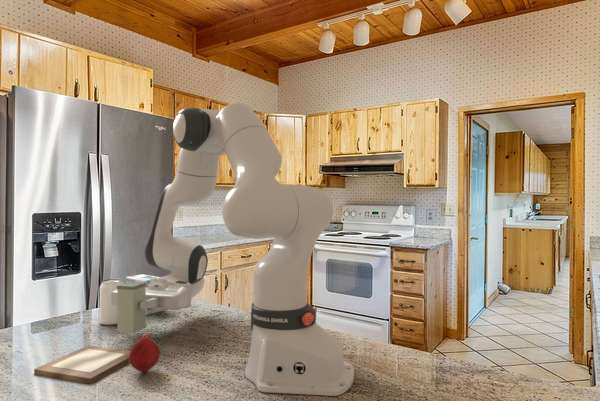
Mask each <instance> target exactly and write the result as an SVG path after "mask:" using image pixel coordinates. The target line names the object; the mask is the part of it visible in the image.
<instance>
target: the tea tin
mask: <svg viewBox="0 0 600 401" xmlns="http://www.w3.org/2000/svg"><path fill="white" fill-rule="evenodd" d="M123 283H124V282H123ZM145 286H146V283H141V282H128V283H126V282H125V283H124V284H121V285H117V324H116V326H117V329H116V330H117V332H121V333H132V334H134V333H136V332H138V331H141V330H143V329H145V328H146V320H147V319H146V316H147V315H146V309H144V310H142V309H137V303H138V302H140V301H145V300H146V296H145Z"/></svg>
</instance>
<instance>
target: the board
mask: <svg viewBox="0 0 600 401" xmlns="http://www.w3.org/2000/svg"><path fill="white" fill-rule="evenodd" d="M129 354H130V350H125V349H118V348H111V347H103V346H96V345H89V344H88V345H86V346H83V347H82V348H79V349H76V350H75V351H72V352H70V353H68V354H66V355H63V356H61V357H58V358H57V359H54V360H52V361H50V362H48V363H45V364H42V365H40V366H39V367H35V368H34V369H33V371H34V372H33V374H34V375H38V376H42V375H43V376H44V377H48V376H49V377H50V378H54V379H55V378H56V379H60V380H61V379H62V380H67V381H72V382H78V383H84V384H93V383H94V382H96V381H97V380H99V379H101V378H103V377H105V376H107V375H108V374H110V373H112V372H114V371H116V370H117V369H120V368H121V367H123V366H125V365H126V364H128V363H130V360H129Z"/></svg>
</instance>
